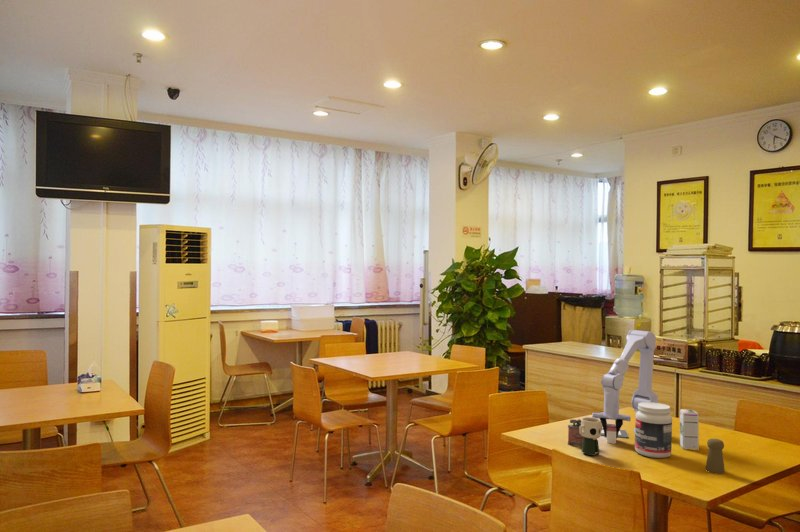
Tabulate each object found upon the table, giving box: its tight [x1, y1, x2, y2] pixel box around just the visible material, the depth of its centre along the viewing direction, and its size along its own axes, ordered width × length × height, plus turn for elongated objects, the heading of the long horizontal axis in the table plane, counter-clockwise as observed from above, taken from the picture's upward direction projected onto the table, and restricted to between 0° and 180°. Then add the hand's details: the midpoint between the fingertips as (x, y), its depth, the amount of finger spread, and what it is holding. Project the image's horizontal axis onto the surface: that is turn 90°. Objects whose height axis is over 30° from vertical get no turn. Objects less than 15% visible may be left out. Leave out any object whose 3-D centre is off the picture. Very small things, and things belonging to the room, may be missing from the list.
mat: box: [600, 427, 629, 439], centre depth 253 cm, size 15×11×1 cm
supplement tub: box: [634, 402, 673, 459], centre depth 225 cm, size 13×13×18 cm
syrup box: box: [679, 408, 700, 451], centre depth 234 cm, size 6×6×14 cm
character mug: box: [579, 416, 603, 456], centre depth 223 cm, size 11×7×13 cm, turn 116°
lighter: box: [567, 418, 585, 447], centre depth 235 cm, size 8×3×10 cm, turn 84°
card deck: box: [605, 423, 617, 445], centre depth 241 cm, size 3×7×6 cm, turn 166°
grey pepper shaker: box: [705, 438, 726, 475], centre depth 207 cm, size 6×6×11 cm
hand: (610, 437), depth 241 cm, fingers closed on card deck, 3 cm apart
